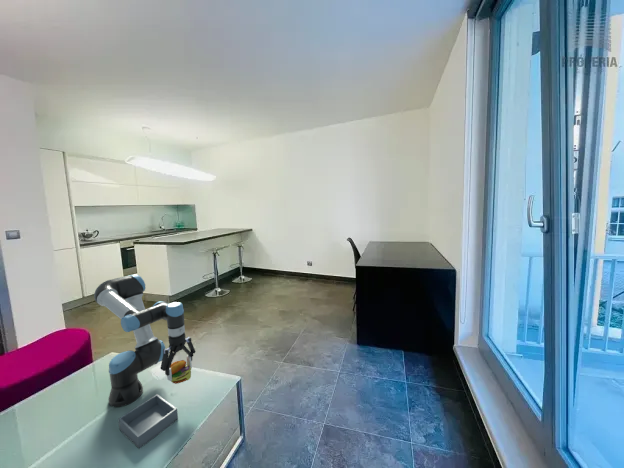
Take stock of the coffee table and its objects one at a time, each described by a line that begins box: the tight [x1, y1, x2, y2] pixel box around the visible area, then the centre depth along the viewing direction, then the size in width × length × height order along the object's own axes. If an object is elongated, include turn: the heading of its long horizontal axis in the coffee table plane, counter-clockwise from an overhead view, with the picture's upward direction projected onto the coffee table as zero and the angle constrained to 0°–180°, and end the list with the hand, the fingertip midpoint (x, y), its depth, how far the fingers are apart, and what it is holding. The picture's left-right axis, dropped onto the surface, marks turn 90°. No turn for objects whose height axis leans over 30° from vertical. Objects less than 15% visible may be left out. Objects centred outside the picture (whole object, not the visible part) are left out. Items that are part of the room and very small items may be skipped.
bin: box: [117, 393, 179, 450], centre depth 125 cm, size 18×18×6 cm
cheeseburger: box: [170, 359, 192, 385], centre depth 134 cm, size 10×11×10 cm
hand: (180, 373), depth 135 cm, fingers closed on cheeseburger, 10 cm apart
